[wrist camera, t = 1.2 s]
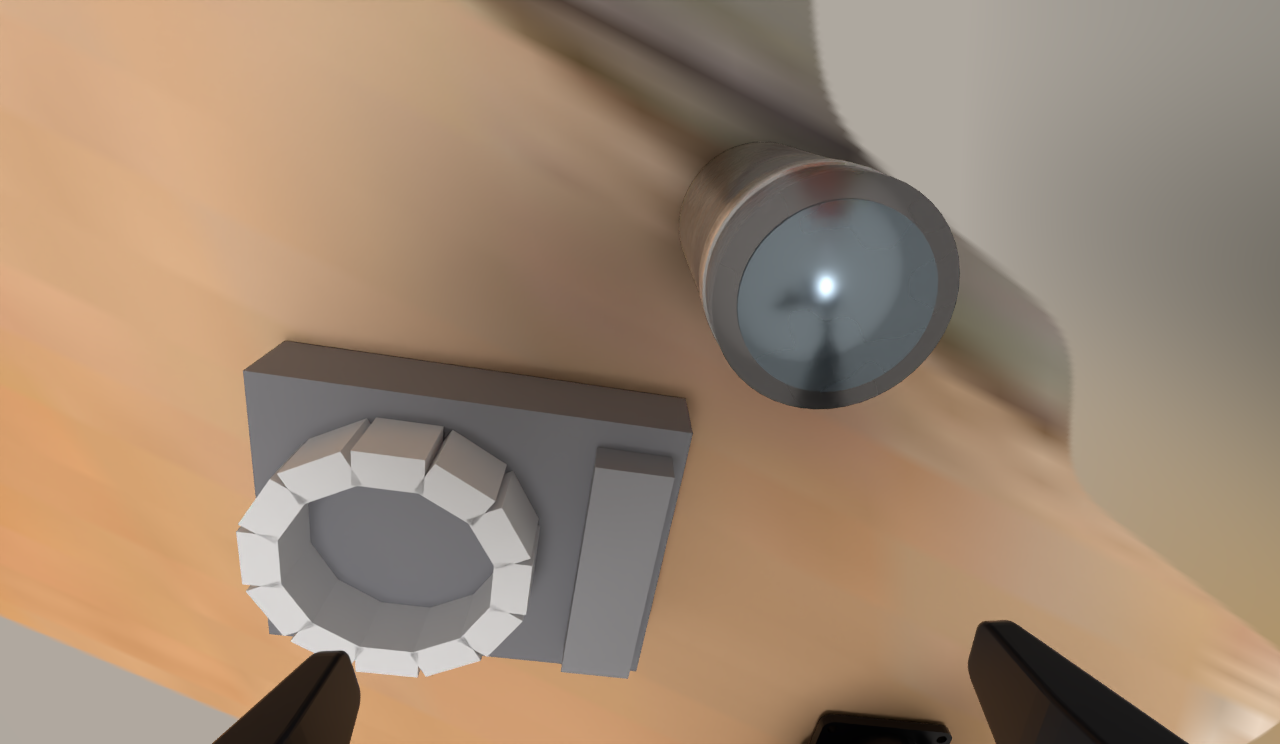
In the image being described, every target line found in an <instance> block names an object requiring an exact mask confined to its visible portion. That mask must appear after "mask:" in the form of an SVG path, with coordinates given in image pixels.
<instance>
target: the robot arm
mask: <svg viewBox="0 0 1280 744" xmlns="http://www.w3.org/2000/svg"><path fill="white" fill-rule="evenodd" d="M968 671H969V675H970V679H971V682H972V684H973V687H974V689H975V692H976V694H977V697H978V699H979V702H980V704H981V707H982V709H983V712H984V714H985V717H986V719H987V722H988V724H989V727H990V729H991V732H992V734H993V737H994V739H995V742H996V744H1188V743H1187V742H1186V741H1184V740H1183V739H1181V738H1180V737H1178V736H1177V735H1175V734H1174V733H1173V732H1171V731H1170V730H1168V729H1167V728H1165V727H1164V726H1163V725H1161V724H1160V723H1158V722H1157V721H1155V720H1154V719H1152V718H1151V717H1150V716H1148V715H1147V714H1145V713H1144V712H1142V711H1141V710H1140V709H1138V708H1137V707H1135V706H1134V705H1132V704H1131V703H1129V702H1128V701H1127V700H1125V699H1124V698H1122V697H1121V696H1119V695H1118V694H1117V693H1115V692H1114V691H1112V690H1111V689H1109V688H1108V687H1106V686H1105V685H1104V684H1102V683H1101V682H1099V681H1098V680H1096V679H1095V678H1093V677H1092V676H1091V675H1089V674H1088V673H1086V672H1085V671H1083V670H1082V669H1081V668H1079V667H1078V666H1076V665H1075V664H1073V663H1072V662H1070V661H1069V660H1068V659H1066V658H1065V657H1063V656H1062V655H1060V654H1059V653H1058V652H1056V651H1055V650H1053V649H1052V648H1050V647H1049V646H1047V645H1046V644H1045V643H1043V642H1042V641H1040V640H1039V639H1037V638H1036V637H1035V636H1033V635H1032V634H1030V633H1029V632H1027V631H1026V630H1024V629H1023V628H1022V627H1020V626H1019V625H1017V624H1015V623H1014V622H1011V621H1008V620H997V621H984V622H981V623H980V624H979V625H978V627H977V630H976V634H975V637H974V641H973V645H972V648H971V652H970V656H969V660H968ZM359 706H360V688H359V685H358V682H357V678H356V675H355V672H354V669H353V666H352V663H351V660H350V657H349V655H348V654H347V653H346V652H345V651H342V650H337V651H320V652H316V653H314V654H313V655H311V656H310V657H309V658H307V659H306V660H305V661H304V662H303V663H302V664H301V665H300V666H298V667H297V668H296V669H295V670H294V671H293V672H292V673H291V674H289V675H288V676H287V677H286V678H285V679H284V680H283V681H282V682H280V683H279V684H278V685H277V686H276V687H275V688H274V689H273V690H272V691H270V692H269V693H268V694H267V695H266V696H265V697H264V698H263V699H261V700H260V701H259V702H258V703H257V704H256V705H255V706H254V707H252V708H251V709H250V710H249V711H248V712H247V713H246V714H245V715H244V716H242V717H241V718H240V719H239V720H238V721H237V722H236V723H235V724H233V725H232V726H231V727H230V728H229V729H228V730H227V731H226V732H225V733H223V734H222V735H221V736H220V737H219V738H218V739H217V740H215V741H214V742H213V743H212V744H350V740H351V736H352V733H353V729H354V725H355V721H356V718H357V714H358V710H359ZM951 740H952V736H951V734H950V732H949V730H948V728H947V727H946V726H943V725H936V724H926V723H916V722H906V721H896V720H885V719H875V718H865V717H855V716H845V715H834V714H829V715H826V716H824V717H822V718H821V719H820V721H819V723H818V726H817V728H816V730H815V732H814V735H813V737H812V739H811V742H810V744H950V742H951Z"/></svg>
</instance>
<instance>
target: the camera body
mask: <svg viewBox="0 0 1280 744" xmlns="http://www.w3.org/2000/svg"><path fill="white" fill-rule="evenodd" d="M243 375H244V385H245V395H246V405H247V415H248V425H249V435H250V444H251V454H252V464H253V474H254V484H255V494H256V499H255V501H254V502H253V504H252V505H251V506H250V508H249V509H248V511H247V512H246V514H245V515H244V516H243V518H242V519H241V521H240V522H239V524H238V525H240V526H241V527H240V528H239V529H238V530H237V531H236V534H237V543H238V551H239V560H240V568H241V576H242V584H245V585H250V587H249V588H248V589H247V590H246V592H247V593H248V595H249V596H250V597H251V598H252V599H253V601H254V602H255V603H256V604H257V605H258V606H259V608H260V609H261V610H262V611H263V612H264V614H265V615H266V616H267V617H268V624H269V634H275V635H283V636H293V638H292V640H291V642H293V643H295V644H297V645H299V646H301V647H303V648H305V649H307V650H309V651H311V652H313V653H316V652H320V651H337V650H342V651H345V652H346V653H347V654H348V655H349V657H350V660H351V663H353V662H354V660H355V663H356V671H357V672H367V673H377V674H388V675H398V676H408V677H418V675H419V672H420V669H421V670H422V672H423V673H424V675H425V676H426V677H427V676H430V675H433V674H437V673H440V672H444V671H447V670H450V669H454V668H457V667H461V666H464V665H467V664H471V663H474V662H478V661H481V657H482V656H487V657H488V656H491V657H501V658H510V659H520V660H530V661H540V662H550V663H560V664H562V668H561V672H567V673H576V674H586V675H596V676H606V677H616V678H626V679H628V676H629V672H630V671H636V670H637V665H638V661H639V657H640V653H641V649H642V644H643V640H644V636H645V632H646V628H647V623H648V619H649V615H650V611H651V607H652V603H653V598H654V594H655V590H656V586H657V582H658V577H659V573H660V569H661V565H662V561H663V556H664V552H665V548H666V544H667V540H668V535H669V531H670V527H671V523H672V519H673V514H674V510H675V506H676V502H677V498H678V493H679V489H680V485H681V481H682V477H683V473H684V468H685V464H686V460H687V456H688V452H689V447H690V443H691V439H692V435H693V432H692V427H691V422H690V417H689V412H688V407H687V403H686V399H684V398H677V397H670V396H663V395H656V394H650V393H643V392H636V391H629V390H622V389H615V388H608V387H601V386H594V385H587V384H580V383H573V382H567V381H560V380H553V379H546V378H539V377H532V376H525V375H518V374H511V373H504V372H497V371H490V370H483V369H477V368H470V367H463V366H456V365H449V364H442V363H435V362H428V361H421V360H414V359H407V358H400V357H394V356H387V355H380V354H373V353H366V352H359V351H352V350H345V349H338V348H331V347H324V346H317V345H310V344H304V343H297V342H290V341H284V342H282V343H281V344H279V345H278V346H277V347H275V348H274V349H273V350H271V351H270V352H268V353H267V354H266V355H264V356H263V357H261V358H260V359H259V360H257V361H256V362H254V363H253V364H252V365H250V366H249V367H248V368H246V369H245V370H243Z"/></svg>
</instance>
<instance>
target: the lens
mask: <svg viewBox="0 0 1280 744" xmlns="http://www.w3.org/2000/svg"><path fill="white" fill-rule="evenodd" d="M679 235H680V242H681V246H682V250H683V253H684V256H685V258H686V261H687V263H688V266H689V268H690V271H691V274H692V276H693V279H694V281H695V284H696V287H697V289H698V292H699V294H700V298H701V302H702V306H703V310H704V313H705V316H706V319H707V321H708V324H709V326H710V329H711V331H712V333H713V336H714V337H715V339H716V341H717V342H718V344H719V346H720V348H721V350H722V353H723V355H724V356H725V358H726V360H727V361H728V363H729V365H730V366H731V367H732V369H733V370H734V371H735V372H736V374H737V375H738V376H739V377H740V378H741V379H742V380H743V381H744V382H745V383H747V384H748V385H749V386H750V387H751V388H753V389H754V390H756V391H757V392H759V393H760V394H762V395H764V396H766V397H768V398H770V399H772V400H774V401H777V402H780V403H783V404H785V405H789V406H794V407H799V408H808V409H831V408H838V407H845V406H849V405H853V404H856V403H860V402H863V401H865V400H868V399H870V398H873V397H875V396H877V395H879V394H881V393H883V392H885V391H887V390H889V389H890V388H892V387H894V386H895V385H897V384H898V383H900V382H901V381H903V380H904V379H905V378H906V377H907V376H909V375H910V374H911V373H912V372H914V371H915V370H916V369H917V368H918V367H919V366H920V365H921V364H922V363H923V361H924V360H925V359H926V358H927V357H928V356H929V354H930V353H931V352H932V351H933V349H934V348H935V347H936V345H937V344H938V342H939V340H940V339H941V337H942V336H943V334H944V332H945V330H946V328H947V326H948V324H949V321H950V319H951V317H952V314H953V311H954V308H955V304H956V300H957V295H958V290H959V277H960V269H959V257H958V252H957V248H956V243H955V240H954V238H953V235H952V233H951V230H950V227H949V226H948V224H947V222H946V221H945V219H944V217H943V216H942V214H941V213H940V212H939V210H938V209H937V208H936V207H935V205H934V204H933V203H932V202H931V201H930V200H929V199H927V198H926V197H925V196H924V195H923V194H922V193H921V192H920V191H917V190H916V189H915V188H913V187H912V186H910V185H908V184H907V183H905V182H902V181H900V180H898V179H895V178H893V177H891V176H887V175H886V174H884V173H882V172H879V171H877V170H875V169H872V168H870V167H866V166H863V165H859V164H856V163H852V162H848V161H844V160H838V159H830V158H827V157H824V156H820V155H817V154H813V153H810V152H807V151H803V150H800V149H797V148H793V147H790V146H787V145H783V144H779V143H773V142H752V143H746V144H742V145H739V146H736V147H733V148H731V149H729V150H727V151H725V152H723V153H721V154H720V155H718V156H717V157H715V158H714V159H713V160H711V161H710V162H709V163H708V164H707V165H706V166H705V167H704V168H703V169H702V170H701V171H700V172H699V173H698V175H697V176H696V177H695V179H694V180H693V181H692V183H691V185H690V187H689V189H688V190H687V193H686V195H685V198H684V200H683V203H682V207H681V211H680V218H679Z"/></svg>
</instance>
